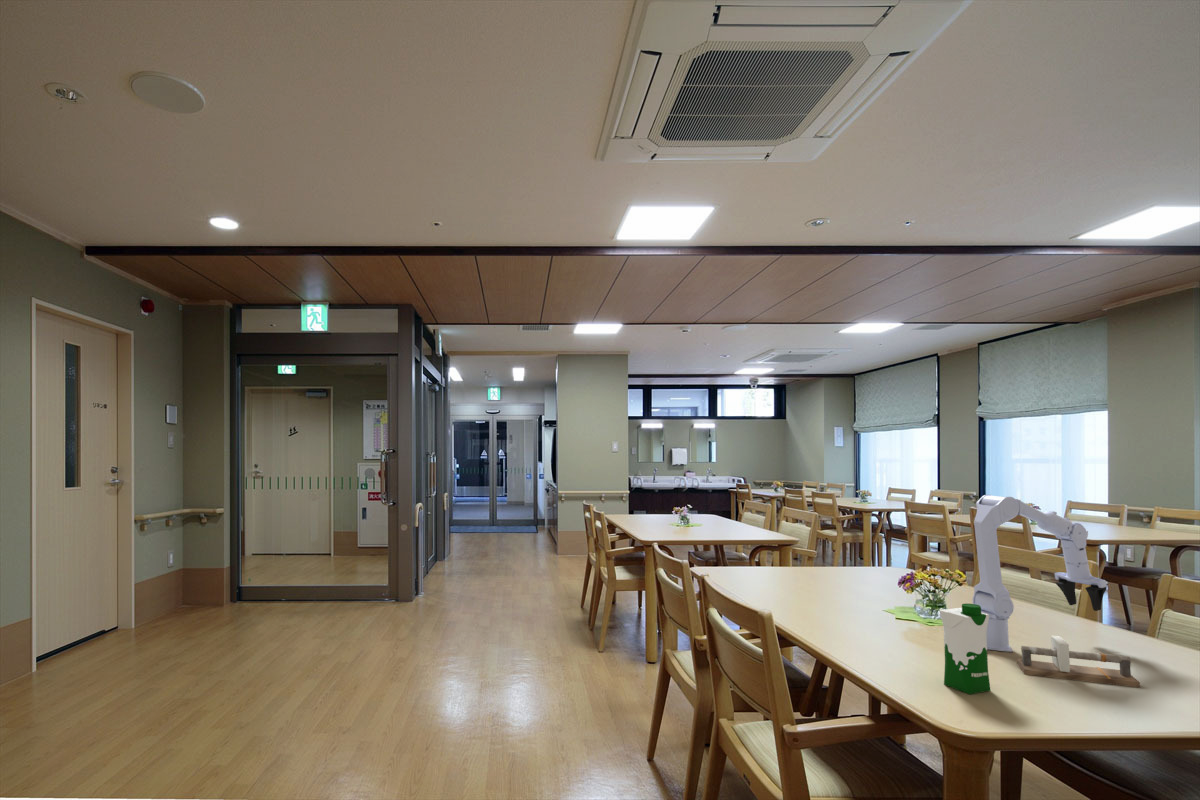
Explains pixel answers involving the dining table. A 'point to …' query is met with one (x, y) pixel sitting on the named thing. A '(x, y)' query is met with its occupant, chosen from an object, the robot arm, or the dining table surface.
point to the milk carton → (966, 648)
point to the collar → (1061, 653)
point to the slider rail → (1078, 667)
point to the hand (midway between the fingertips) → (1084, 607)
